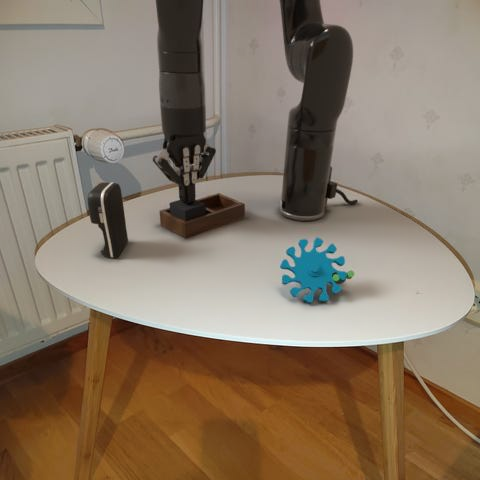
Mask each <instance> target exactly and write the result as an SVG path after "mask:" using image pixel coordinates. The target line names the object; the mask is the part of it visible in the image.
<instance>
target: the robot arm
mask: <svg viewBox="0 0 480 480" xmlns="http://www.w3.org/2000/svg"><path fill="white" fill-rule="evenodd" d="M155 7H156V8H155V9H156V16H157V17H156V18H157V28H158V29H157V36H156V47H157V48H156V50H157V59H158V95H159V106H160V107H159V108H160V118H161V119H160V120H161V130H162V133H163V136H164V137H163V143H162V151H161V152H160V153H159V154H158V155H154V156H153V157H152V163H154V164H155V166H157V168H158V169H159V170H160V172H161V173H162V174H163V175H164V176H165V177H166V178H167V179H168V181H169V182H172V183H174V184H177V185H178V199H179V200H181V201H182V203H184V204H187V205H188V204H191V203H194V199H196V197H197V196H196V195H197V193H196V183H197V181H198V180H199V179H204V177H205V176H206V173H207V171H208V170H209V167H210V165H211V163H212V161H213V159H214V157H215V155H216V153H217V150H216V148H215V147H212V146H210V145H209V144H208V143H207V139H206V136H205V132H206V131H207V124H206V123H207V119H206V118H207V117H206V112H207V111H206V110H207V109H206V85H205V78H204V63H203V62H204V60H203V59H204V58H203V57H204V56H203V55H204V54H203V37H202V27H203V14H204V0H155ZM279 7H280V18H281V28H282V37H283V38H282V39H283V48H284V56H285V61H286V62H285V63H286V66H287V69H288V71H289V73H290V74H291V76H292V77H293V78H294V79H295V80H296V81H298V82H300V83H302V84H303V86H302V92H301V97H300V101H299V103H298V104H296V105H295V106H293V107H291V108H290V109H289V111H288V115H287V116H288V117H287V130H286V140H285V151H284V152H285V153H284V164H283V175H282V177H283V178H282V185H281V186H282V188H281V197H280V198H279V213H280V214H281V215H282V216H283V217H285V218H287V219H291V220H295V221H300V222H301V221H302V222H310V221H311V222H312V221H316V220H320V219H322V218H323V217H324V214H325V213H326V212H327V205H328V201H329V200H332V199H334V198H336V194H338V195H340V196H341V198H342V199H343V201H344V202H345V203H346V204H348V205H354V204H357V203H358V202H359V201H358V199H353V200H350V199H348V197H347V195H346V194H345V193H344V192H343V191H342V190H341V189H339V188H338V182H335V181H332V180H331V179H332V174H333V167H332V159H333V152H334V145H335V140H336V139H335V138H336V132H337V125H338V121H339V118H340V116H341V114H342V113H343V111H344V107H345V104H346V98H347V94H348V90H349V84H350V79H351V73H352V69H353V64H354V63H353V61H354V42H353V39H352V36H351V34H350V32H349V31H348V30H347V28H345V27H344V26H341V25H338V24H334V23H325V22H324V16H323V10H322V5H321V0H279ZM171 163H172V165H171Z"/></svg>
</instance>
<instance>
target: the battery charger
mask: <svg viewBox="0 0 480 480" xmlns="http://www.w3.org/2000/svg"><path fill="white" fill-rule="evenodd" d="M87 207H88V214H89V219H90V223H91V224H94V225H97V227H98V228H99V229H100V230H101V232H102V235H103V236H102V237H103V241H104V246H103V247H102V249H101V250H100V254H101V256H103V257H107V258H114V259H115V258H117V257H118V256H119V255H120V254H121V252H122V251H123V250H124V248H125V247H126V245H127V244H128V242H129V237H128V230H127V223H126V222H127V221H126V215H125V207H124V201H123V194H122V189H121V186H120V184H119V183H117V182H115V181H114V182H106V181H105V182H104V181H103V182H100V183H98V184H97V185H95V186H94V187H93V188H92V189H91V190H90V191H89V192H88V195H87Z"/></svg>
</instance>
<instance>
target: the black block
mask: <svg viewBox="0 0 480 480" xmlns="http://www.w3.org/2000/svg"><path fill="white" fill-rule="evenodd" d="M169 208H170V214H172V215H174V216H176V217H178V218H180V219H182V220H184V221H185V222H186V221H189V220H192V219H195V218H198V217H201V216H204V215H206V204H204V203H202V202H200V201H198V200H197V199H196V198H195V199H194V203H191V204H188V205H187V204H184V203H182V201H181V200H180V199H178V200H174V201H170V202H169Z"/></svg>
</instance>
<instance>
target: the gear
mask: <svg viewBox="0 0 480 480" xmlns="http://www.w3.org/2000/svg"><path fill="white" fill-rule="evenodd" d="M308 244H309V239H307V238H303V239H301V238H300V239H299V240H298V247H299V248H300V256H299V257H298V256H296V247H295V246H294V245H293V246H290V247H288V248H287V249H286V250H285V254H286V255H287V256H289V257H290V258H291V259H292V260H293V262H294V265H293V266H292V265H290V263H289V261H288V260H287V259H285V258H284V259H282V261H281V263H280V264H279V265H280V266H279V268H280V269H281V270H288V271H289V272H291V273H292V274H293V275H294V277H291V276H290V275H288V274H282V277H281V283H282V284H283V285H288V284H290V283H298V284H299V285H300V287H295V286H293V287H292V288H290V290H289V294H290V295H291V296H292V297H293V298H296V297H298V295H299V293H300V292H301V291H303V290H305V289H308V290H310V292H309V293H308V294H305V295H304V297H303V298H302V299H303V301H304V302H305V303H308V304H311V303H312V302H313V301H314V294H315V292H316V290H321V294H320V295H319V296H318V301H319V302H324V303H325V302H328V301H329V300H330V296H329V295H328V293H327V284H330V285H331V293H332V294H333V295H337V294H338V293H340V291H342V286H341V285H343V284H344V283H345V282H346V281H347V280H351V279H352V278H353V277H354V276H355V271H354V270H352V269H351V270H349V271H347V272H346V271H344V270H338V269H336V268H335V267H334V266H333V264H336V265H337V266H338V267H343V266H344V265H345V264H346V259H345V256H343V255H340V256H339V257H336V258H331V257H327V254H331V255H333V254H335V253H336V252H337V251H338V247H336V245H335V244H334V243H329V245H328V246H327V248H326V249H325V250H323V251H318V250H317V248H320V247H322V245H323V244H324V240H323V239H322V238H321V237H315V239H314V240H313V247H312V248H311V250H310V251H306V247H307V246H308Z"/></svg>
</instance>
